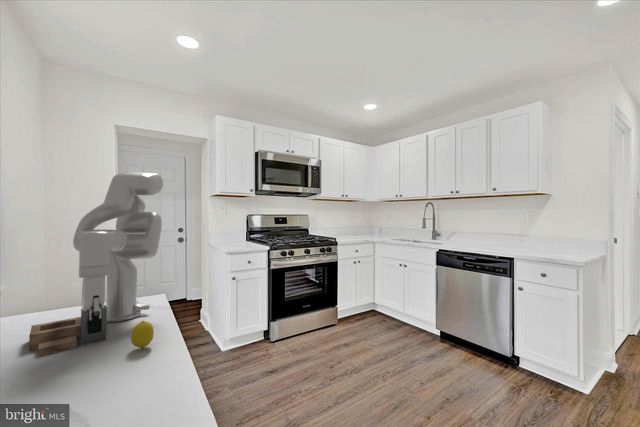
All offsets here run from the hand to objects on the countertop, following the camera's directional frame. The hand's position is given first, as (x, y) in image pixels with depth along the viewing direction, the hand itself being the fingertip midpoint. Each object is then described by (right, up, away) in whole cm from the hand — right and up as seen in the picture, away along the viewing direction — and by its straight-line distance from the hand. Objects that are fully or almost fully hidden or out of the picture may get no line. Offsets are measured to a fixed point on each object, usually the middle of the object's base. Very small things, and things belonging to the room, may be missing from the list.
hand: (93, 329), depth 86 cm
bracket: (0, -4, 0) cm, 4 cm away
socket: (-12, -4, +1) cm, 12 cm away
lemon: (+18, -4, -5) cm, 19 cm away
